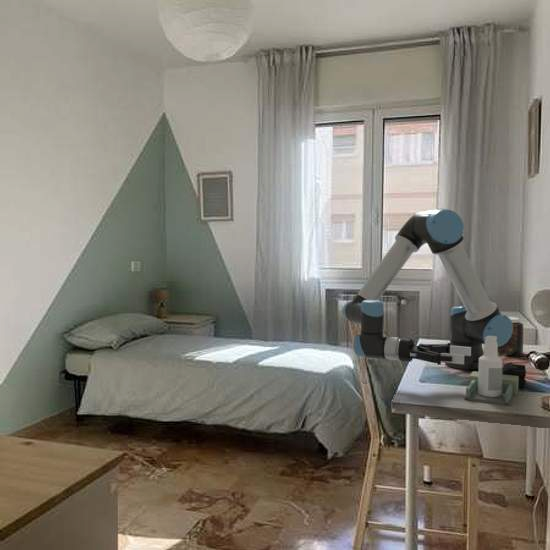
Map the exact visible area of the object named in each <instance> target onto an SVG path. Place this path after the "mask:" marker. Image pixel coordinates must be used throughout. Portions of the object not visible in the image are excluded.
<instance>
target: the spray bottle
mask: <svg viewBox="0 0 550 550" xmlns="http://www.w3.org/2000/svg"><path fill="white" fill-rule="evenodd" d="M497 349H498V344H497V337H496V336H486V337H485V343H484V344H483V352H484V355H483V356H481V357H479V369H478V371H477V372H478V394H480V395H482V396H486V397H499V396H501V395H502V369H503V359H502V358H501V357H500V356H498V355H499V354H498V351H497Z"/></svg>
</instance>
